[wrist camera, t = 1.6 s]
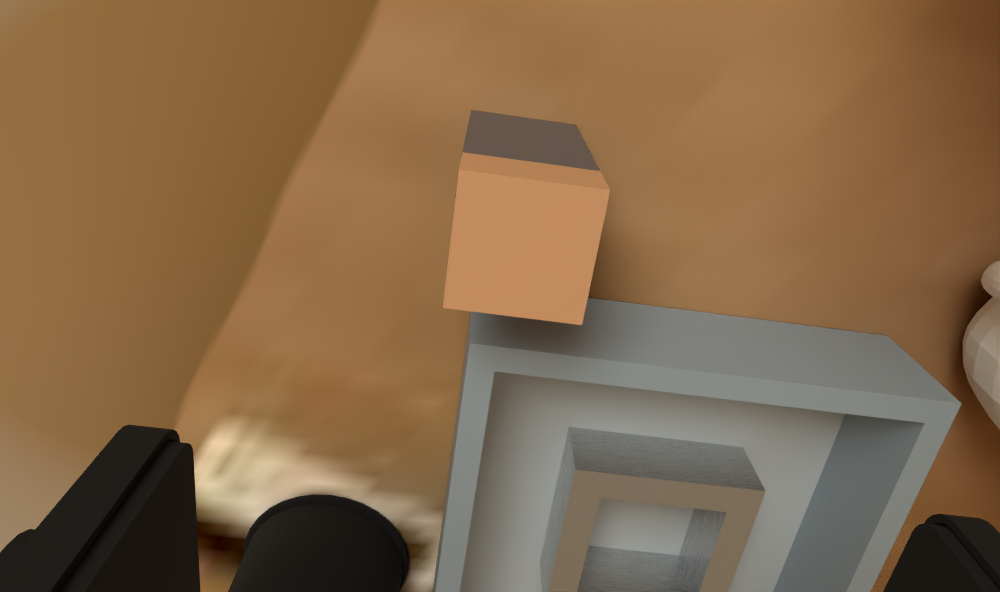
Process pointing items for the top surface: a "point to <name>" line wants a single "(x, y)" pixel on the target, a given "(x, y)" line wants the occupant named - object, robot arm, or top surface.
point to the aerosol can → (322, 549)
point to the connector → (525, 220)
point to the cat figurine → (985, 347)
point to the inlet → (654, 480)
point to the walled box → (690, 439)
